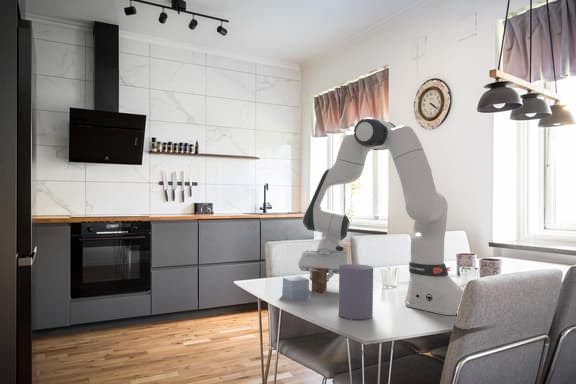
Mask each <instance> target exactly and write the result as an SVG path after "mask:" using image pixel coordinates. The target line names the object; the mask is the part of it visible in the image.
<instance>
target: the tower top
mask: <svg viewBox="0 0 576 384" xmlns="http://www.w3.org/2000/svg"><path fill="white" fill-rule="evenodd" d="M282 287H284V288H286V289H288V290H290V291H297V290H308V289H309V290H310V278H306V277H303V276H288V277H287V276H286V277H282Z"/></svg>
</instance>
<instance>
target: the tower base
mask: <svg viewBox="0 0 576 384" xmlns="http://www.w3.org/2000/svg"><path fill="white" fill-rule="evenodd" d="M281 290H282V296H281V297H284V298H286V299H288V300H291V301H297V300H299V301H300V300H304V299H310V288H309V289H308V290H297V291H290V290H288V289H286V288H284V287H283V286H282V289H281Z"/></svg>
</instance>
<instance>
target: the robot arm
mask: <svg viewBox="0 0 576 384" xmlns="http://www.w3.org/2000/svg"><path fill="white" fill-rule="evenodd" d="M373 150H374V151H382V150H383V151H384V150H388V151H389V152H390V155H391V158H392V162H393V163H394V166H395V170H396V172H397V174H398V178H399V180H400V183H401V189H402V192H403V198H404V203H405V210H406V213H407V215H408V216H409V218H410V219H411V220H413V222H414V224H413V230H412V234H411V237H410V261H409V264H408V272H409V280H408V289H407V292H406V297H405V300H404V303H405V306H406V307H409V308H413V309H417V310H422V311H427V312H432V313H436V314H440V315H444V316H445V315H446V316H457V315H456V314H457V311H458V307H459V304H460V301H461V297H462V294H463V291H464V290H463V289H462V288H461V286H459V285H458V284H457V283H456V282H455V280H453V279H452V278H451V277H450V276H449V273H448V272H450V271H452V270H451V268H452V267H450V266H449V267H447V266H446V263H445V236H446V230H447V229H446V228H447V223H448V222H447V220H448V219H447V218H448V209H449V208H448V207H449V205H448V201H447V199H446V198H445V196H444V195H443V194H441V193H439V192H437V189H436V185H435V181H434V178H433V171H432V168H431V166H430V163H429V160H428V158H427V156H426V153H425V150H424V147H423V145H422V142H421V140H420V139H419V137H418V135H417V134H416V132H415V130H414V129H413V128H412V127H411V126H409V125H399V126H396V125H395V124H393V123H392V122H390V121H386V120H384V119H381V118H374V117H366V118H361V120H359V121H358V122H357V123H356V124H355V126H354V129H353V132H349V133H347V134H346V135H344V137H343V139H342V141H341V144H340V147H339V150H338V152H337V156H336V160H335V163H334V164H333V166H331V168H328V169H326V170H325V171H324V173H322V176H321V178H320V180H319V182H318V185H317V187H316V189H315V192H314V194H313V196H312V199H311V201H310V203H309V205H308V207H307V209H306V210H305V212H304V214H303V217H302V224H303V225H304V227H305V228H306V229H307V231H313V232H318V233H321V239H320V240H319V241H318V245H317V249H316V250H310V249H309V250H307V249H306V250H305V251H303V252H302V254H301V256H300V258H299V260H298V263H297V266H298V268H299V270H300V271H303V272H309V281H312V271H313V270H315V269H320V270H327V276H325V278H324V281H325V282H327V283H329V282H330V279H331V278H332V277H334V275H339V266H340V265H345V264H350V262H349V260H350V255H349V252H348V249H347V248H346V247H345V246H342V245H341V244H342V242H343V240H344V239H345V238H347V234H348V231H349V228H350V225H351V224H350V223H351V222H350V220H349V218H348V215H346V214H345V213H343V212H339V211H334V210H330V209H326V208H323V207H321V204H322V202H323V199H324V197H325V195H326V192H327V190H328V189H329V188H330V187H333V186H337V185H347V184H351V183H353V182H356V181H357V180H358V179H359V178H361V176H362V173H363V171H364V167H365V163H366V159H367V156H368V154H369V153H370V152H371V151H373Z"/></svg>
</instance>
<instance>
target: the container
mask: <svg viewBox="0 0 576 384" xmlns="http://www.w3.org/2000/svg"><path fill="white" fill-rule="evenodd" d="M373 301H374V267H373V266H371V265H368V264H357V263H356V264H355V263H349V264H345V265H340V266H339V274H338V316H340V317H341V318H343V319H345V318H346V319H345V320H350V319H352V320H354V321H365V320H364V319H366V320H369V319H371V318H373V309H374V307H373V305H374V302H373ZM352 320H351V321H352Z"/></svg>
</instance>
